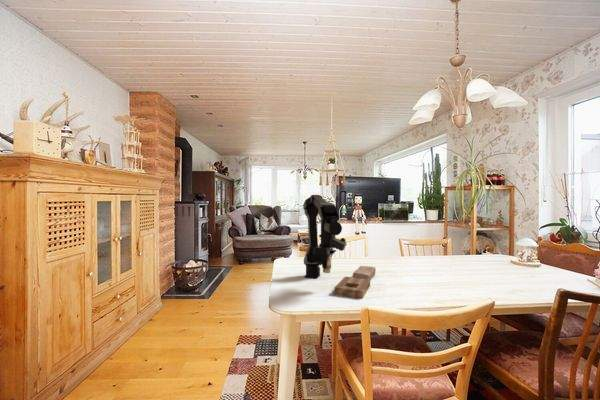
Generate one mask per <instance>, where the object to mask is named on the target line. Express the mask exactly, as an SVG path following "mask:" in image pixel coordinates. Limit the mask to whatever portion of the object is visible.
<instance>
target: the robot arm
mask: <svg viewBox="0 0 600 400" xmlns="http://www.w3.org/2000/svg"><path fill="white" fill-rule="evenodd" d="M302 207H303V210H304V214H305V216H306V218H307V228H308V234H307V235H308V246H307V249H306V250H305V254H304V258H303V264H304V266H305V275H304V278H310V279H318V278H320V276H321V267H322V266H323V268H324V269H326V267H327V261H328V257H329V256H330V255H331V259H332V258H333V256H334V254H335V253H336V252H337V251H341V252H343V251H344V250H345V248H346V246H347V243H348V242H347V241H346V238H344V237H342V238H336V236H339V235H340V234H341V233H342V231H343V226H342V224H341V223H340V222H339V221H340V214H339V211H338V208H337V207H336V205H335V204H334V203H330V202H327V201H326V200H325V199H324V198H323V197H322V195H320V194H311V195H310V196H309V197H308V198H307V199H305V200H304V202H303V205H302ZM318 216H319V219H320V234H319V235H318V219H317V217H318ZM318 238H320V243H319V242H318ZM318 243H319V244H318ZM320 266H321V267H320ZM323 268H322V269H323Z"/></svg>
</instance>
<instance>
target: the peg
mask: <svg viewBox="0 0 600 400" xmlns="http://www.w3.org/2000/svg"><path fill="white" fill-rule="evenodd" d="M321 268H322V273H325V274H329V273H331V269H332V258H331V255H330V256H329V257H328V261H327V267H326V269H324V268H323V266H322V265H321Z"/></svg>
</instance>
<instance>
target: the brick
mask: <svg viewBox="0 0 600 400" xmlns="http://www.w3.org/2000/svg"><path fill="white" fill-rule="evenodd" d="M376 269H377V268H376V267H375V266H370V265H369V266H368V265H366V266H365V265H360V266H359V267H358V268H357V269H355V270H354V271H353V272H352V277H353V278H361V279H368V280H370V281H371V280H372V279H373V278H374V277H375V275H376Z"/></svg>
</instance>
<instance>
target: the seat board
mask: <svg viewBox="0 0 600 400" xmlns="http://www.w3.org/2000/svg"><path fill="white" fill-rule="evenodd" d="M370 287H371V280H368V279H361V278H353V276H344V277H343V278H342V279H341V280H340V281H339V282H338V283H337V284H336V285H335V286H334V288H333V289H334V293H333V294H334V295H338V296H344V297H351V298H358V299H362V300H363V298H364V297H365V295H366V294H367V292H368V290H369V289H370Z"/></svg>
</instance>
